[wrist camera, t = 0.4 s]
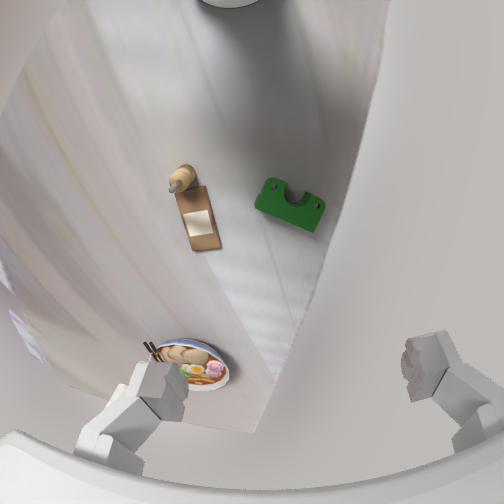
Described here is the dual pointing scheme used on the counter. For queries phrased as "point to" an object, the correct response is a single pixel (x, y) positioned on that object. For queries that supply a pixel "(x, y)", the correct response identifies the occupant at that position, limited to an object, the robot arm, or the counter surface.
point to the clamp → (290, 206)
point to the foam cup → (117, 393)
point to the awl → (181, 178)
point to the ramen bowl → (193, 362)
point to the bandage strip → (198, 218)
